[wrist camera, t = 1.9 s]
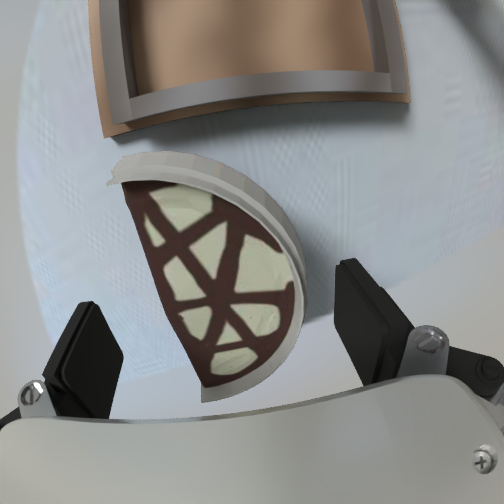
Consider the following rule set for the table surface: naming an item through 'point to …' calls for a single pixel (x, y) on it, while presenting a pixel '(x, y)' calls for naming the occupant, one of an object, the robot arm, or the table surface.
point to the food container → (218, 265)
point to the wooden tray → (240, 56)
